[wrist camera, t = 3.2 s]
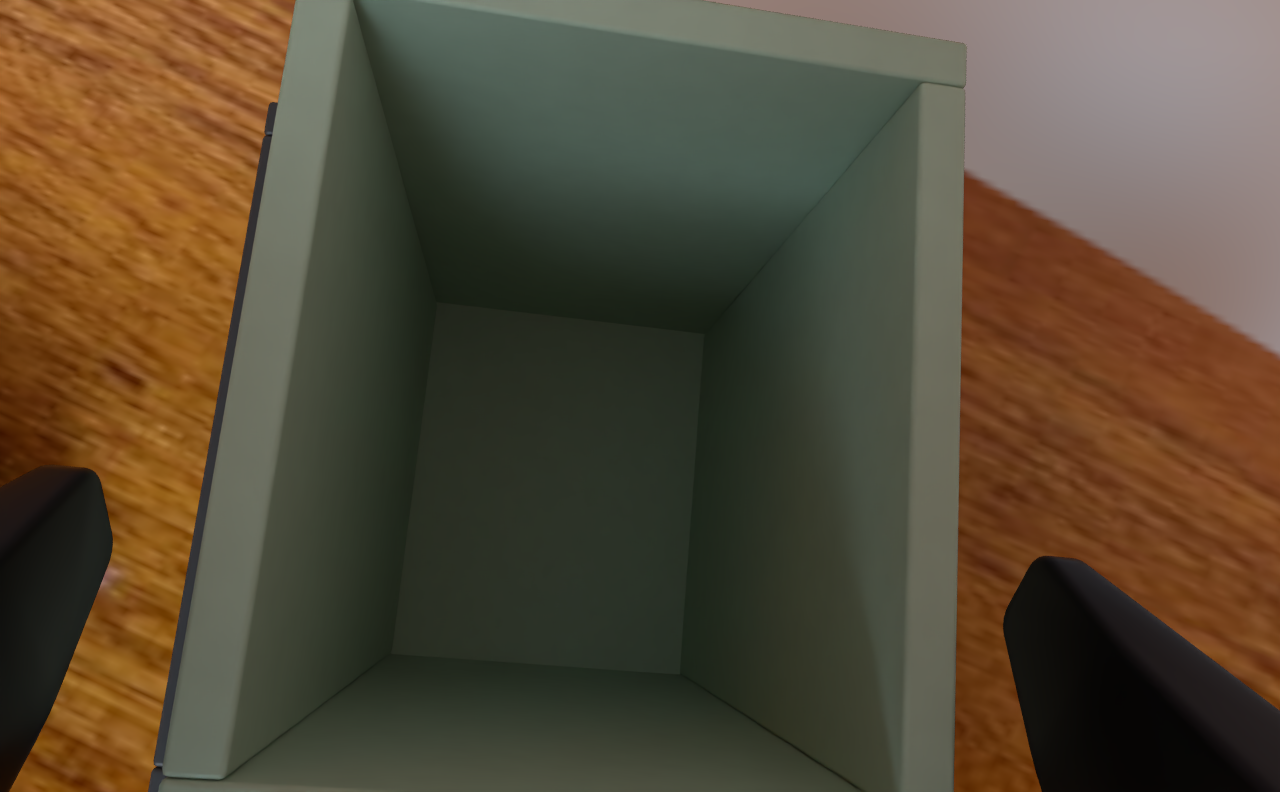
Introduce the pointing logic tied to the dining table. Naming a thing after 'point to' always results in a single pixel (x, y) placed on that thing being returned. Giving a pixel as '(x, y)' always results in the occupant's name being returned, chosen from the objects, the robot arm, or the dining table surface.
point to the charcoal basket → (211, 457)
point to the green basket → (589, 411)
